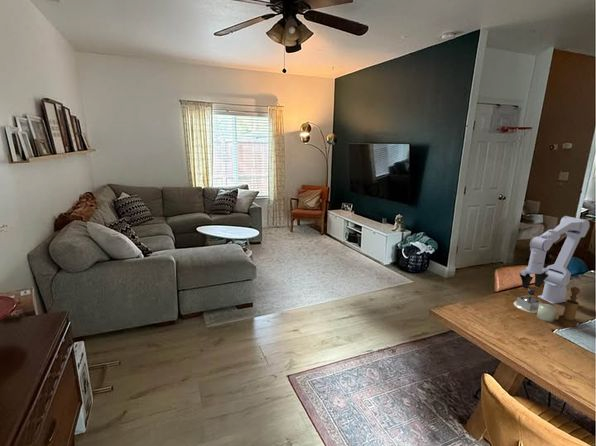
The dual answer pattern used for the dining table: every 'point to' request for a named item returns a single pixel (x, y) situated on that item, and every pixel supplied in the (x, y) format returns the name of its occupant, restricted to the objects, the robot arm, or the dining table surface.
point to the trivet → (524, 309)
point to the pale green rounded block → (546, 312)
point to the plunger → (530, 292)
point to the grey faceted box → (527, 303)
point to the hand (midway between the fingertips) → (531, 287)
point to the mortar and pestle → (570, 310)
